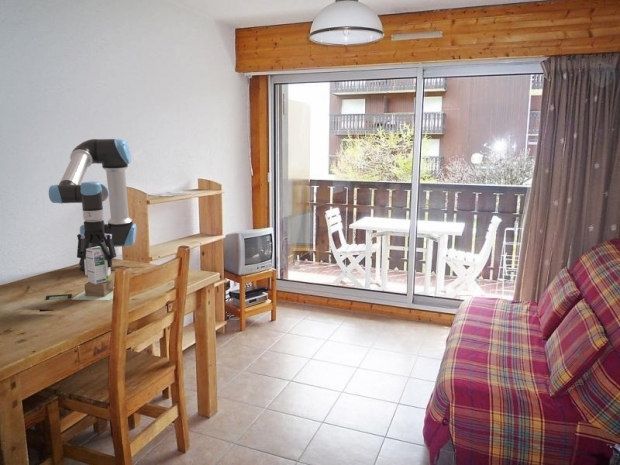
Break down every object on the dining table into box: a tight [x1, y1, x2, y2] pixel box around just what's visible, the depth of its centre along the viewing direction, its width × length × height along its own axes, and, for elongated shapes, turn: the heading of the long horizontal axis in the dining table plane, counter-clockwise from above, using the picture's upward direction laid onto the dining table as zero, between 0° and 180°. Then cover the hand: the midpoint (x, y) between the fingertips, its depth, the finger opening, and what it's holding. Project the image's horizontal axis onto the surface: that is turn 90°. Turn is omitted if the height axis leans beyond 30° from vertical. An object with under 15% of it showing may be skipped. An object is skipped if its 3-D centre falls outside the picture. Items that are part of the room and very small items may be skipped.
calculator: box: [38, 293, 73, 312], centre depth 189 cm, size 9×12×3 cm
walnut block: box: [84, 278, 114, 297], centre depth 199 cm, size 8×8×5 cm
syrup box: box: [86, 246, 109, 284], centre depth 197 cm, size 6×6×14 cm
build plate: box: [71, 290, 114, 301], centre depth 200 cm, size 16×16×2 cm
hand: (98, 274), depth 198 cm, fingers open, 8 cm apart
